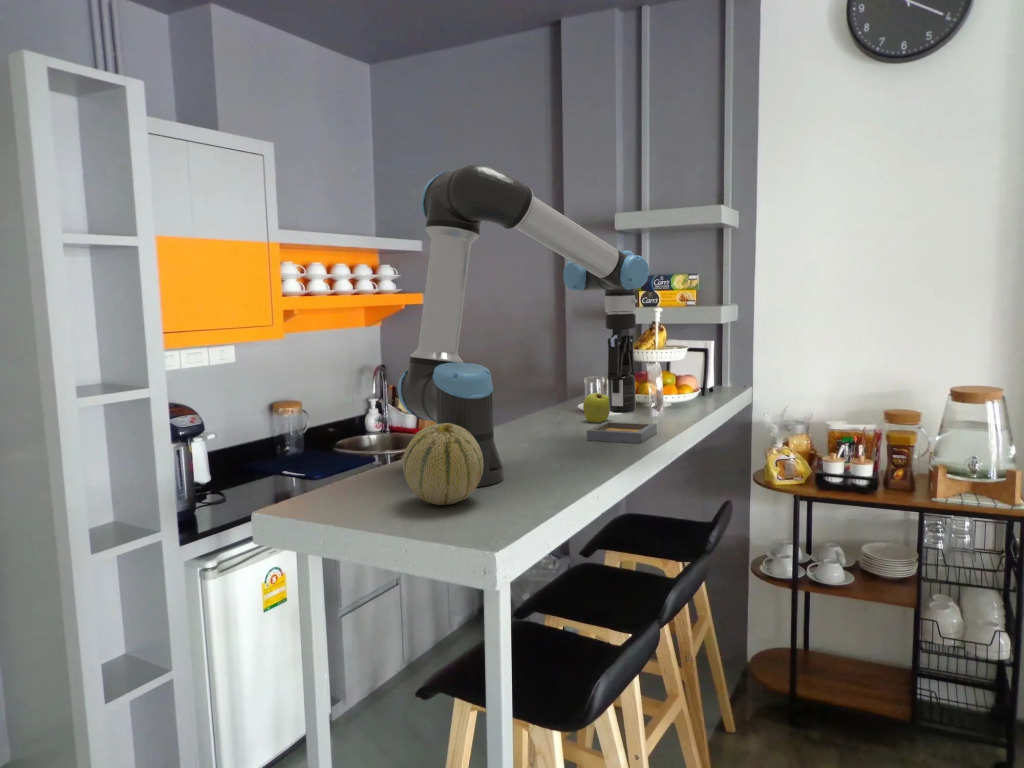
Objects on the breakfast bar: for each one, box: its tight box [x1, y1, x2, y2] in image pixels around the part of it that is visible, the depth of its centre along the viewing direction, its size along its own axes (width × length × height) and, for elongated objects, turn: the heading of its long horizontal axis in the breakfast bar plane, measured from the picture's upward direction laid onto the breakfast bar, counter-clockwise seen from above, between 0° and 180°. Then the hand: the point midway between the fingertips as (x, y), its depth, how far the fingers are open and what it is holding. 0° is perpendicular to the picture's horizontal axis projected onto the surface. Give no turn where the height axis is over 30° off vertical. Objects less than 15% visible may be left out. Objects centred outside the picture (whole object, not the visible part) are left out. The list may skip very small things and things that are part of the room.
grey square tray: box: [586, 420, 658, 444], centre depth 194 cm, size 14×14×2 cm
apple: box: [582, 388, 611, 424], centre depth 217 cm, size 8×8×10 cm
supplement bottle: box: [607, 364, 637, 414], centre depth 193 cm, size 7×7×12 cm
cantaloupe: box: [402, 423, 484, 506], centre depth 137 cm, size 15×15×15 cm
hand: (622, 403), depth 193 cm, fingers closed on supplement bottle, 7 cm apart
